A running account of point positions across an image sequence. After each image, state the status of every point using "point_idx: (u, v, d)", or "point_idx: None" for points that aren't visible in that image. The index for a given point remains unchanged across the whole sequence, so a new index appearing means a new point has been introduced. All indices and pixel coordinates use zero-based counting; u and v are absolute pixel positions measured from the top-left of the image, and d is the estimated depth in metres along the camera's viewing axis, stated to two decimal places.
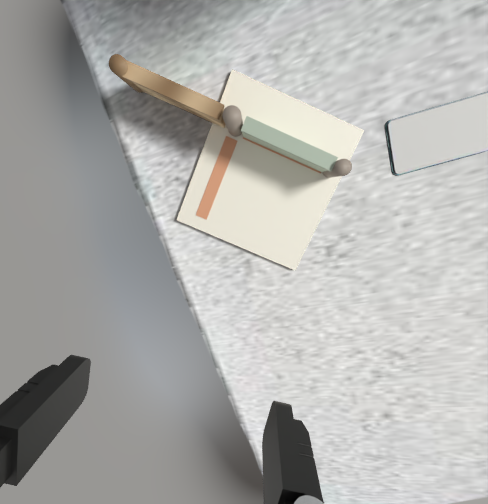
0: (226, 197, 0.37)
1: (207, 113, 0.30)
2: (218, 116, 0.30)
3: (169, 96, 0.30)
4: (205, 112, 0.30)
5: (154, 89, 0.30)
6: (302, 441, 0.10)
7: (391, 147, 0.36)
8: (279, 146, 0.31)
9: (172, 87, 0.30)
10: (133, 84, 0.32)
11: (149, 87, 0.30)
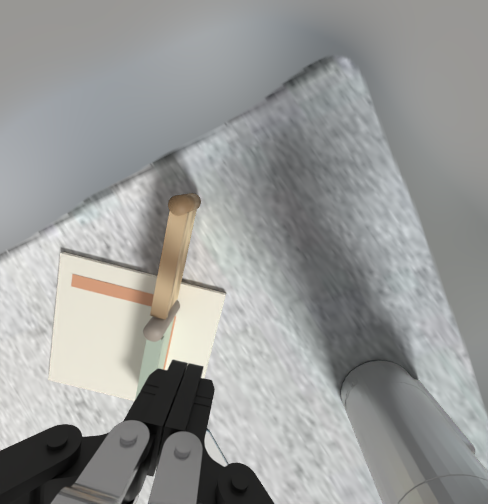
0: (101, 304, 0.34)
1: (153, 304, 0.28)
2: (153, 315, 0.28)
3: (160, 263, 0.27)
4: (153, 302, 0.28)
5: (164, 246, 0.26)
6: (205, 395, 0.11)
7: None
8: (141, 373, 0.30)
9: (170, 265, 0.27)
10: None
11: (165, 240, 0.26)
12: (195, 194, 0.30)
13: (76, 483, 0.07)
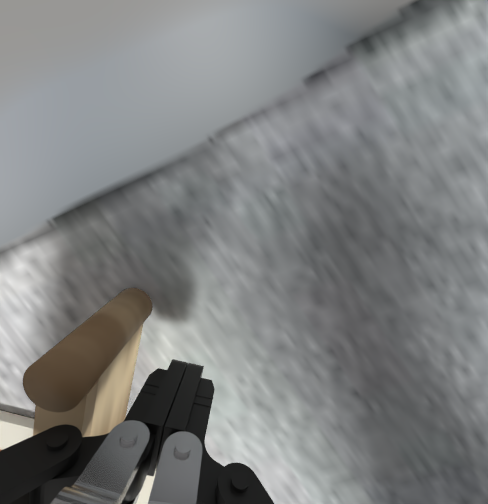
0: None
1: None
2: None
3: None
4: None
5: None
6: (205, 395, 0.11)
7: None
8: None
9: None
10: None
11: None
12: (138, 294, 0.13)
13: (76, 483, 0.07)
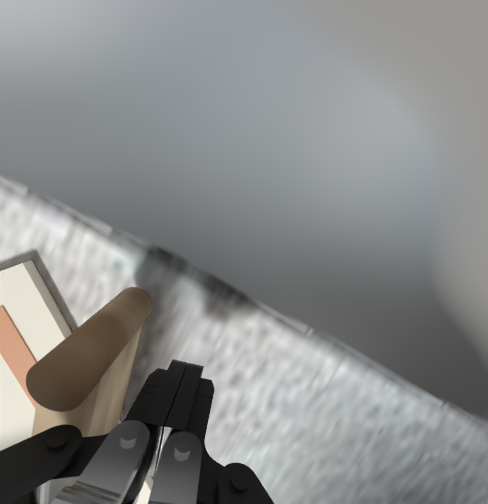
0: None
1: None
2: None
3: None
4: None
5: None
6: (205, 395, 0.11)
7: None
8: None
9: None
10: None
11: None
12: (139, 293, 0.13)
13: (76, 483, 0.07)
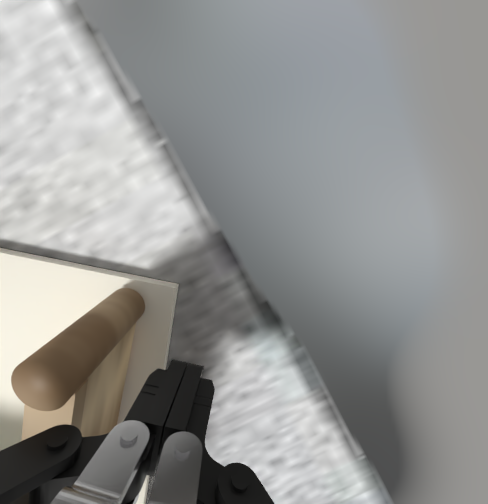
0: None
1: None
2: None
3: None
4: None
5: None
6: (205, 395, 0.11)
7: None
8: None
9: None
10: None
11: None
12: (130, 294, 0.13)
13: (76, 483, 0.07)
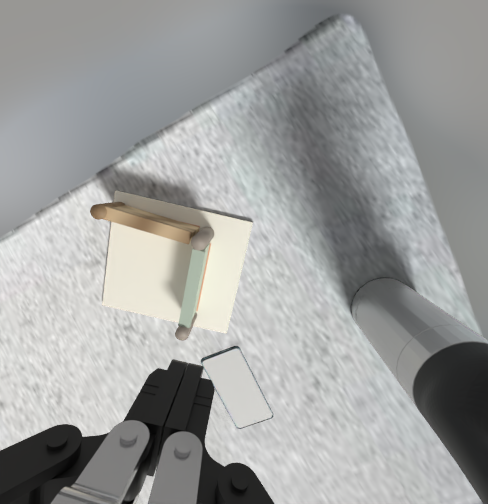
0: (148, 234, 0.41)
1: (178, 240, 0.35)
2: (188, 241, 0.35)
3: (144, 230, 0.35)
4: (176, 240, 0.35)
5: (131, 226, 0.35)
6: (205, 395, 0.11)
7: (220, 354, 0.45)
8: (187, 282, 0.37)
9: (146, 223, 0.35)
10: None
11: (126, 225, 0.35)
12: None
13: (76, 483, 0.07)
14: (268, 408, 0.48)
